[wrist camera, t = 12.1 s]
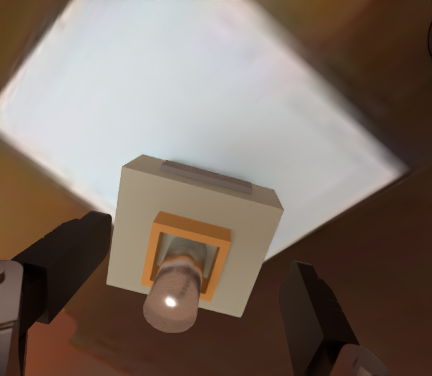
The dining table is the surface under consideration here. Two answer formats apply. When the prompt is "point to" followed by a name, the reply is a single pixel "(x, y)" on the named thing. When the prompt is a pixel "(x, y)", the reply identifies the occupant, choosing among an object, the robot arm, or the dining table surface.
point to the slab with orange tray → (192, 228)
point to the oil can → (177, 287)
